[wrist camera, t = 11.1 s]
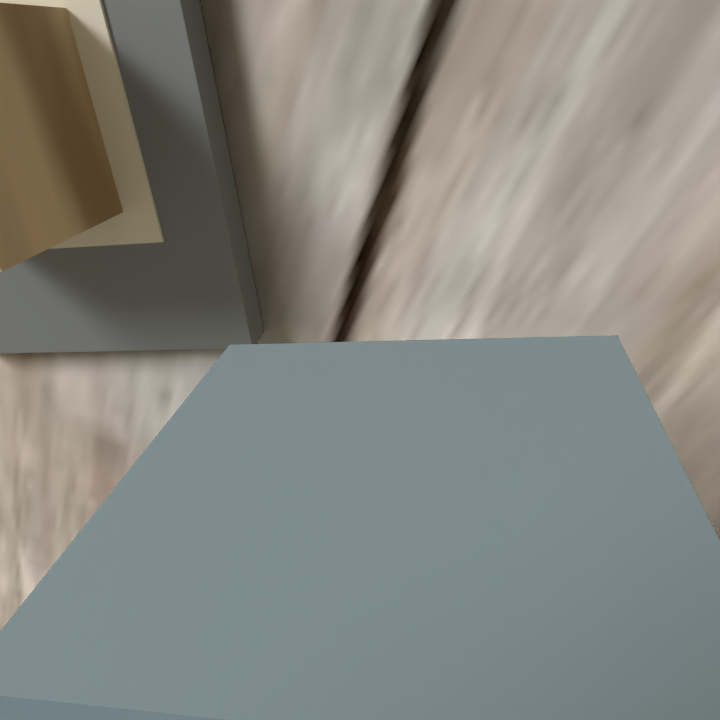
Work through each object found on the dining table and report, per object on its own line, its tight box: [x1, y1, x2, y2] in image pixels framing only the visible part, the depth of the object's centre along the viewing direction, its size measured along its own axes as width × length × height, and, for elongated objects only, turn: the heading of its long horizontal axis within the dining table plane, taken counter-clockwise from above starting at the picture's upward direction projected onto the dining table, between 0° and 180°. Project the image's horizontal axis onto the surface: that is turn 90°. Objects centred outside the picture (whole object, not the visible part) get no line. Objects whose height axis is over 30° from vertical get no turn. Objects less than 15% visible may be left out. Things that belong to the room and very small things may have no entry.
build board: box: [0, 0, 264, 354], centre depth 17 cm, size 11×14×1 cm
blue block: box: [0, 335, 720, 720], centre depth 7 cm, size 5×5×5 cm
